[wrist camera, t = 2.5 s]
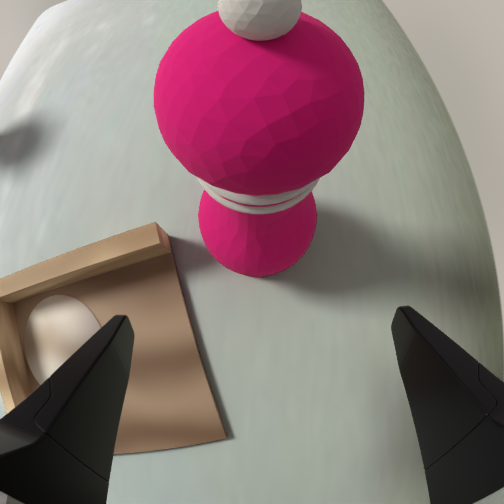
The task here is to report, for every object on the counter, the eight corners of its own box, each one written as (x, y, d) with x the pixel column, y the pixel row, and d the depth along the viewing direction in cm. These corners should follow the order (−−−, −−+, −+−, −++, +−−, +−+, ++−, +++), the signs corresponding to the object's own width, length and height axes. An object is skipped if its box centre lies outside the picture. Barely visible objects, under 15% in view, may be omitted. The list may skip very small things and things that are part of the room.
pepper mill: (264, 174, 25) (276, -81, 5) (324, 243, 24) (488, 35, 4) (190, 228, 24) (48, 4, 4) (249, 304, 23) (207, 209, 3)
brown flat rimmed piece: (227, 436, 21) (222, 454, 17) (46, 453, 20) (26, 464, 16) (168, 235, 24) (155, 222, 20) (5, 291, 23) (-19, 286, 20)
